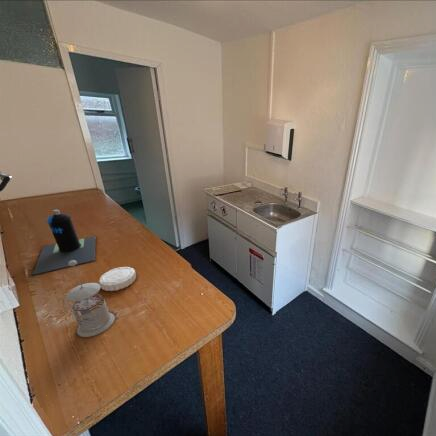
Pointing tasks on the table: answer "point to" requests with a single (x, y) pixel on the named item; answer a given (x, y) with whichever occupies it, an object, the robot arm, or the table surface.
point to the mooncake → (117, 278)
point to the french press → (86, 300)
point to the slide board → (64, 256)
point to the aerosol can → (63, 232)
